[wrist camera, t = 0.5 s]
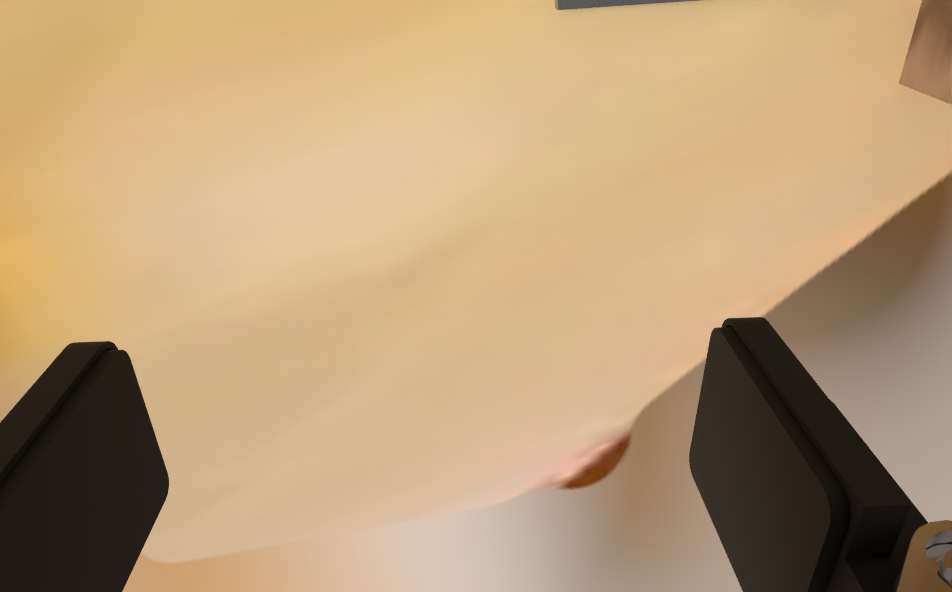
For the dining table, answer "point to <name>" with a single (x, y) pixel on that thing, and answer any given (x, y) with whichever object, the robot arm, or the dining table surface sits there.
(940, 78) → the brown wooden block
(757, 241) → the dining table surface
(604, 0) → the ridge stand
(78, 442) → the robot arm
